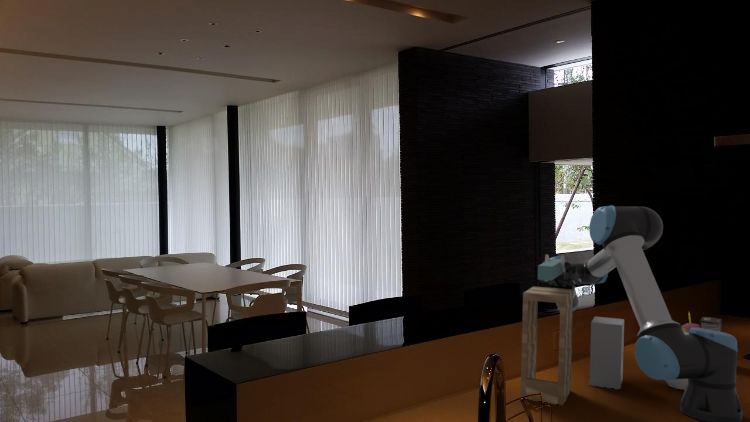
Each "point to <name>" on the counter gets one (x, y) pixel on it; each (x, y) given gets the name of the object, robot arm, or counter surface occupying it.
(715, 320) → the coffee box
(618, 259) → the robot arm
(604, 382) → the stone block
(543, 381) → the wooden stool frame
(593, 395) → the counter surface
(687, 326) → the cupcake
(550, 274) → the teal block
